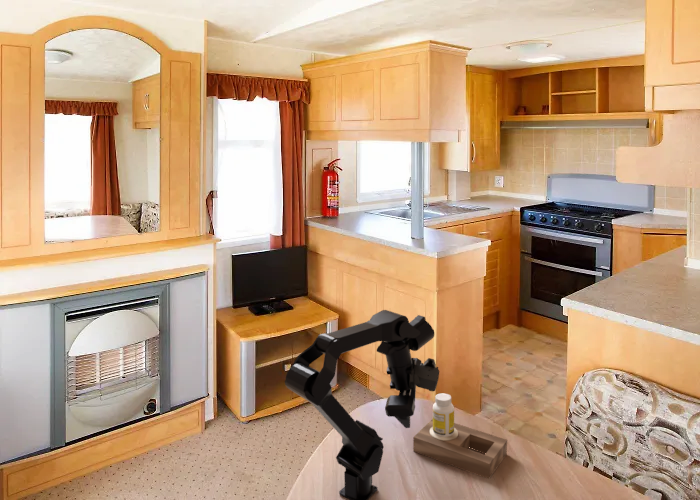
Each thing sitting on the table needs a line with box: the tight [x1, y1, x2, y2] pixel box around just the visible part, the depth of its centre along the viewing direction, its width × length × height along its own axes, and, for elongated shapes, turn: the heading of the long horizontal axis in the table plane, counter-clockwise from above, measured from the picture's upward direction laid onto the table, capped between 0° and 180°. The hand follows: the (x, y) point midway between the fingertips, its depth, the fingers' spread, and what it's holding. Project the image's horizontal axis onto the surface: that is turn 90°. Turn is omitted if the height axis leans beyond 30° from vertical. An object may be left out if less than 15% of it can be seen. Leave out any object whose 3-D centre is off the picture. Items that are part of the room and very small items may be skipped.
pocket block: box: [412, 418, 508, 480], centre depth 134 cm, size 12×20×4 cm, turn 54°
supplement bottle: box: [432, 392, 455, 437], centre depth 135 cm, size 5×5×10 cm
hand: (410, 414), depth 129 cm, fingers open, 9 cm apart
